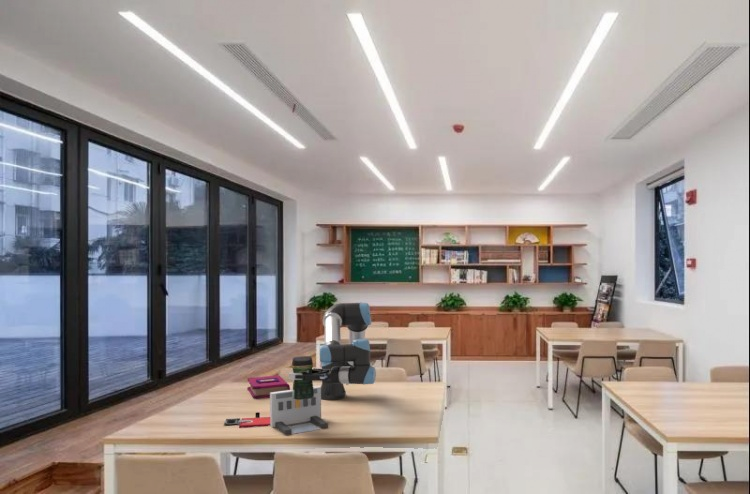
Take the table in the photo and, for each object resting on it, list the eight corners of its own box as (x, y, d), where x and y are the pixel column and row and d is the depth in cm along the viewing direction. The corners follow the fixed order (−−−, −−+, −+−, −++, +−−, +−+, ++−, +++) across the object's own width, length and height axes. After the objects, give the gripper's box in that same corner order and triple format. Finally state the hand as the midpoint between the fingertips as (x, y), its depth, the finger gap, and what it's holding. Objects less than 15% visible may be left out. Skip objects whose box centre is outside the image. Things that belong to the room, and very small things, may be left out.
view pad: (286, 427, 224) (286, 426, 224) (311, 423, 230) (311, 422, 230) (294, 433, 214) (294, 433, 214) (319, 429, 220) (319, 428, 220)
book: (281, 386, 313) (281, 373, 313) (290, 395, 287) (289, 382, 287) (247, 389, 305) (247, 377, 305) (253, 399, 279) (253, 386, 279)
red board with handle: (226, 419, 239) (222, 429, 224) (226, 413, 239) (222, 423, 224) (289, 416, 243) (289, 426, 229) (289, 410, 244) (289, 420, 229)
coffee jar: (313, 395, 228) (312, 354, 229) (314, 399, 220) (313, 357, 221) (291, 396, 226) (291, 355, 227) (292, 400, 218) (291, 358, 219)
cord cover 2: (310, 420, 233) (310, 416, 233) (316, 419, 235) (316, 415, 235) (321, 428, 221) (321, 424, 221) (327, 427, 222) (327, 423, 222)
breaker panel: (270, 425, 227) (269, 392, 228) (319, 417, 238) (318, 386, 239) (272, 427, 224) (272, 394, 225) (322, 419, 235) (321, 387, 236)
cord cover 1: (275, 426, 225) (275, 422, 225) (281, 425, 227) (281, 421, 227) (284, 435, 213) (284, 430, 213) (291, 434, 214) (291, 429, 214)
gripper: (334, 388, 209) (283, 387, 214) (347, 378, 230) (301, 377, 235) (333, 371, 210) (283, 370, 214) (346, 362, 230) (300, 361, 235)
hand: (292, 374), depth 224 cm, fingers closed on coffee jar, 8 cm apart
